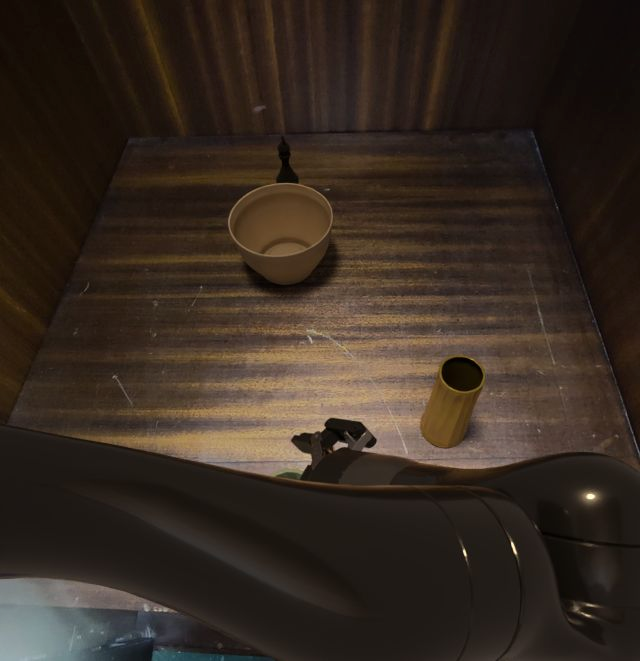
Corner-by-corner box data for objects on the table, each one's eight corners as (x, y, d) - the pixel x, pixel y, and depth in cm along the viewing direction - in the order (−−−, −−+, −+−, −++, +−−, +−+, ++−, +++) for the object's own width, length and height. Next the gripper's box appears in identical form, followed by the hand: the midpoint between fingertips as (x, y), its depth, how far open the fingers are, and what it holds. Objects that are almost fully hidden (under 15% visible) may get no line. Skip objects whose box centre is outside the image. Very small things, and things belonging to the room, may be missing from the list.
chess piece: (293, 171, 103) (289, 126, 94) (302, 184, 100) (298, 139, 92) (273, 178, 102) (266, 133, 94) (281, 191, 99) (275, 146, 91)
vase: (475, 433, 69) (501, 379, 58) (439, 456, 67) (459, 406, 56) (445, 399, 72) (464, 342, 61) (410, 421, 71) (423, 366, 59)
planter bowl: (221, 263, 89) (207, 215, 80) (293, 219, 95) (288, 169, 86) (279, 318, 82) (270, 272, 73) (353, 266, 87) (354, 218, 78)
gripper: (392, 401, 42) (290, 400, 56) (292, 557, 36) (203, 514, 49) (441, 459, 45) (332, 445, 58) (356, 615, 38) (255, 558, 51)
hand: (273, 476), depth 54 cm, fingers open, 8 cm apart
